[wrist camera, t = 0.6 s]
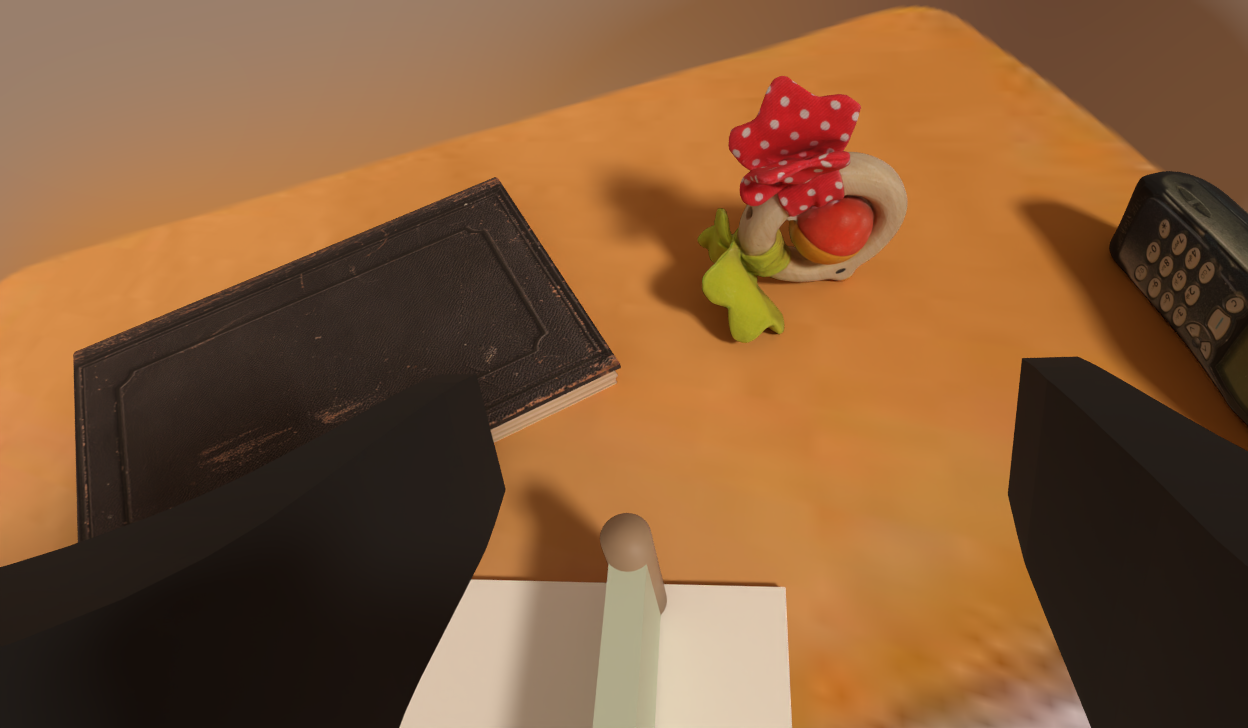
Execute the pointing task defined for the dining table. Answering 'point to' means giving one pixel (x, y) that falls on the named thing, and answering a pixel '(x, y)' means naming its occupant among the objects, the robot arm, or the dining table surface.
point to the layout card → (570, 649)
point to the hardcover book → (330, 354)
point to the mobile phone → (1193, 270)
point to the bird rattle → (798, 205)
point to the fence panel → (629, 626)
